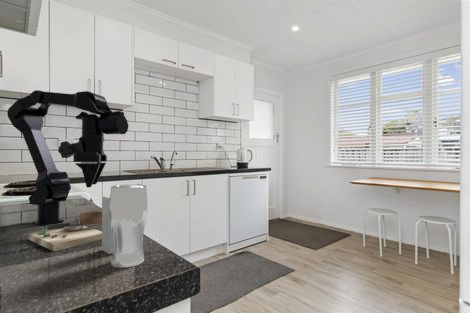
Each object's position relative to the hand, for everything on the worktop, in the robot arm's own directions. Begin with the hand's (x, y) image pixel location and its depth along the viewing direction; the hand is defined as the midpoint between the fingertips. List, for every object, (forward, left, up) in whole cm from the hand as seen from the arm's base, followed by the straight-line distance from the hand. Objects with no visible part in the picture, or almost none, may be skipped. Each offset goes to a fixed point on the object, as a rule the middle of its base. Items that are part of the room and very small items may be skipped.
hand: (91, 185), depth 79 cm
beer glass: (+34, -10, -12) cm, 37 cm away
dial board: (+9, -10, -12) cm, 18 cm away
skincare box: (+26, -7, -12) cm, 30 cm away
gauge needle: (+7, -7, -10) cm, 14 cm away
